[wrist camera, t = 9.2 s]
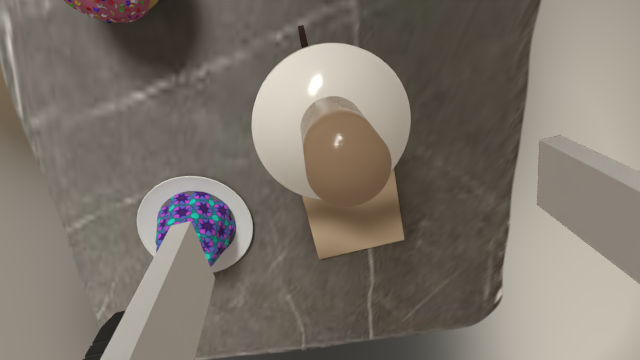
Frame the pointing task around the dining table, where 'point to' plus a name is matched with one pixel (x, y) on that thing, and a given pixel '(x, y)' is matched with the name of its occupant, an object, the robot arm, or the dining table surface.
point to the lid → (331, 123)
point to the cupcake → (113, 9)
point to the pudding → (197, 218)
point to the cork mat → (355, 222)
